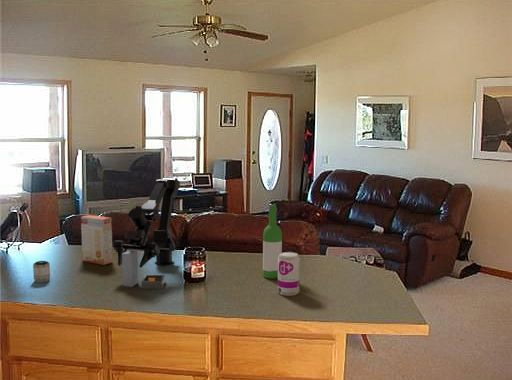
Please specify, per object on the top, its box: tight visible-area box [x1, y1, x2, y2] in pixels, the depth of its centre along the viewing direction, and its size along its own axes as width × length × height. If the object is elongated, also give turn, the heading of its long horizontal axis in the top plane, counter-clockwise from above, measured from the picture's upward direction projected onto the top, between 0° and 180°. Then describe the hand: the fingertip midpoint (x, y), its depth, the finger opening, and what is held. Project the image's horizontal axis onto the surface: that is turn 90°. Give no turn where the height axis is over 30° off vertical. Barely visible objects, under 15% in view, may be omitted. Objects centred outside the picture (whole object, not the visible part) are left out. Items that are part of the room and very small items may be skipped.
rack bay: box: [140, 274, 166, 290], centre depth 225 cm, size 9×8×4 cm
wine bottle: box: [262, 204, 283, 280], centre depth 236 cm, size 8×8×30 cm
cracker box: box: [80, 214, 114, 266], centre depth 259 cm, size 14×6×21 cm, turn 58°
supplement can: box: [277, 251, 301, 297], centre depth 216 cm, size 8×8×15 cm
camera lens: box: [32, 260, 51, 284], centre depth 230 cm, size 6×6×8 cm
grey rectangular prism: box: [121, 250, 139, 288], centre depth 226 cm, size 5×4×13 cm
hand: (129, 266), depth 225 cm, fingers open, 9 cm apart
